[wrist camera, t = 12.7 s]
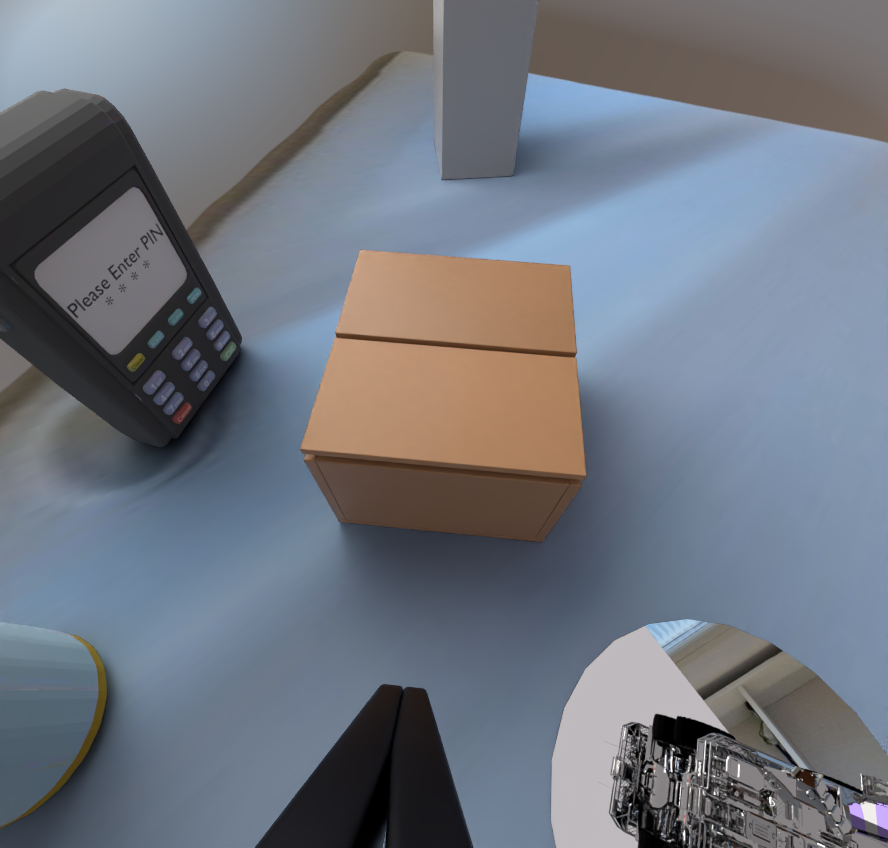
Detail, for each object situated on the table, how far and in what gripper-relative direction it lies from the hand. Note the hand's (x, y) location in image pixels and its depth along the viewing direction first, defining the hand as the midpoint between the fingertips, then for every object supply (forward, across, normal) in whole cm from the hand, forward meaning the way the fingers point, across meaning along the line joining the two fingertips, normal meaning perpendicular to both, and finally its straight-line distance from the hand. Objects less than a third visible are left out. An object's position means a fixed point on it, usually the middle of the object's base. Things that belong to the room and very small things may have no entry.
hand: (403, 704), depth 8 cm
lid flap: (+12, 0, -3) cm, 12 cm away
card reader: (+20, +17, -1) cm, 26 cm away
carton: (+19, 0, 0) cm, 19 cm away
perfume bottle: (+42, +1, -22) cm, 47 cm away
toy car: (+8, -13, +12) cm, 19 cm away
